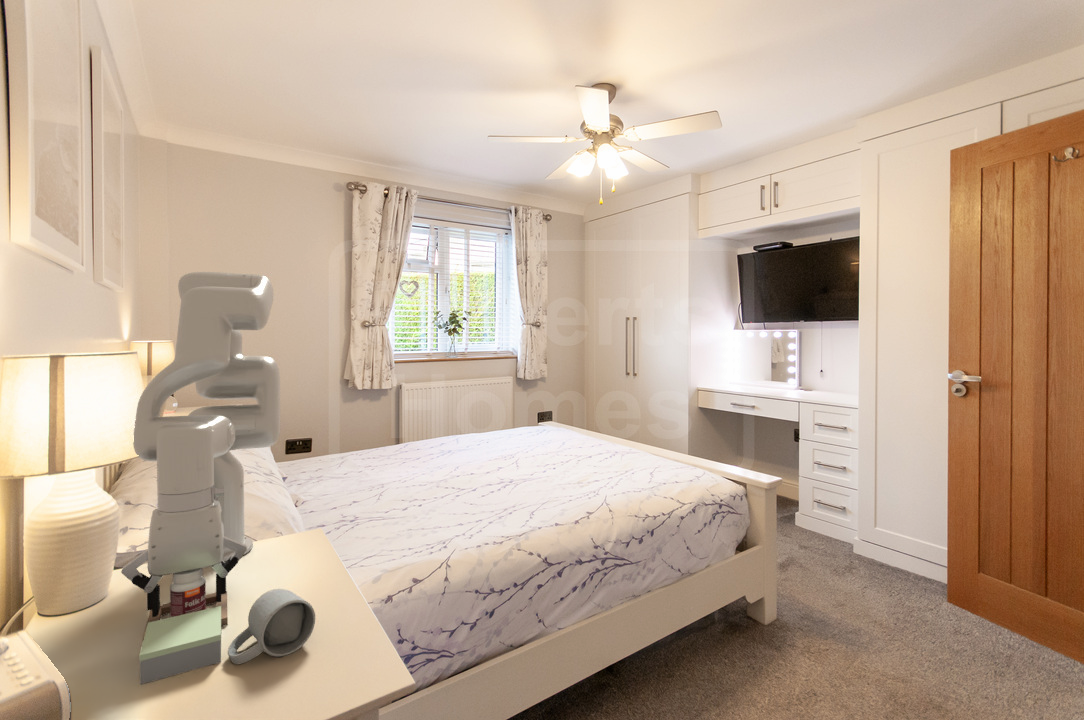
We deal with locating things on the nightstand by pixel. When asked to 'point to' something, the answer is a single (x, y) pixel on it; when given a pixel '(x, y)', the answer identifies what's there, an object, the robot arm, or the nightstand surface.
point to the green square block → (180, 644)
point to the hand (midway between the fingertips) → (188, 605)
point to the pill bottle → (187, 592)
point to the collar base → (209, 600)
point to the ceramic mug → (275, 626)
